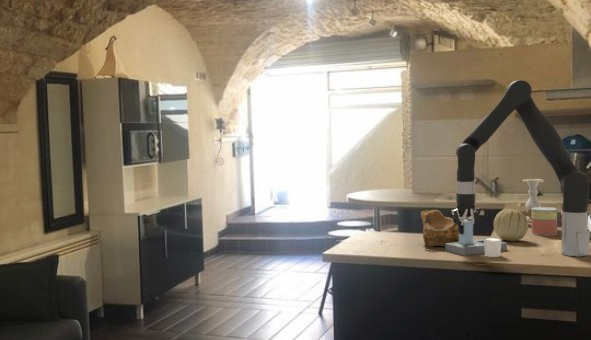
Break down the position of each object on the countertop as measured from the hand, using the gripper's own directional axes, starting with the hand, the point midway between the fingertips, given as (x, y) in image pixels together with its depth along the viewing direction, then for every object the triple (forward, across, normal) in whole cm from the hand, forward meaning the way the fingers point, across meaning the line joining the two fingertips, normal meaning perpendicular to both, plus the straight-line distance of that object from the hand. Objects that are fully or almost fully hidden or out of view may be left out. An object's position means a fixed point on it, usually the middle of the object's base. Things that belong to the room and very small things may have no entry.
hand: (465, 233), depth 247 cm
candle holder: (+8, +71, +35) cm, 80 cm away
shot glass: (+8, +4, -11) cm, 14 cm away
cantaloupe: (+8, +33, +10) cm, 35 cm away
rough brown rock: (+8, -1, +17) cm, 19 cm away
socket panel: (+8, +5, 0) cm, 9 cm away
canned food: (+8, +59, +16) cm, 62 cm away
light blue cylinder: (+4, 0, 0) cm, 4 cm away
